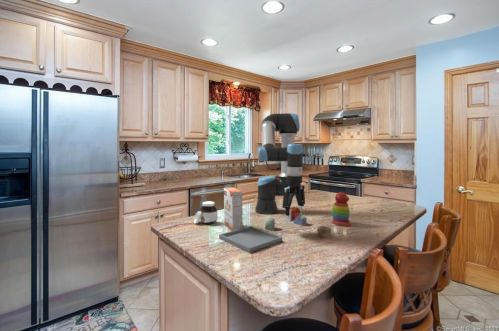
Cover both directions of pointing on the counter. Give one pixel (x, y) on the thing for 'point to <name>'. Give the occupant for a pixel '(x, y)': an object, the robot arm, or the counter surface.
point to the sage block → (269, 224)
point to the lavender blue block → (302, 222)
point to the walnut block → (324, 232)
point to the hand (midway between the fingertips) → (293, 219)
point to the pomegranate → (294, 213)
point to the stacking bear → (341, 210)
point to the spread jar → (206, 213)
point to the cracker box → (233, 208)
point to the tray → (250, 238)
